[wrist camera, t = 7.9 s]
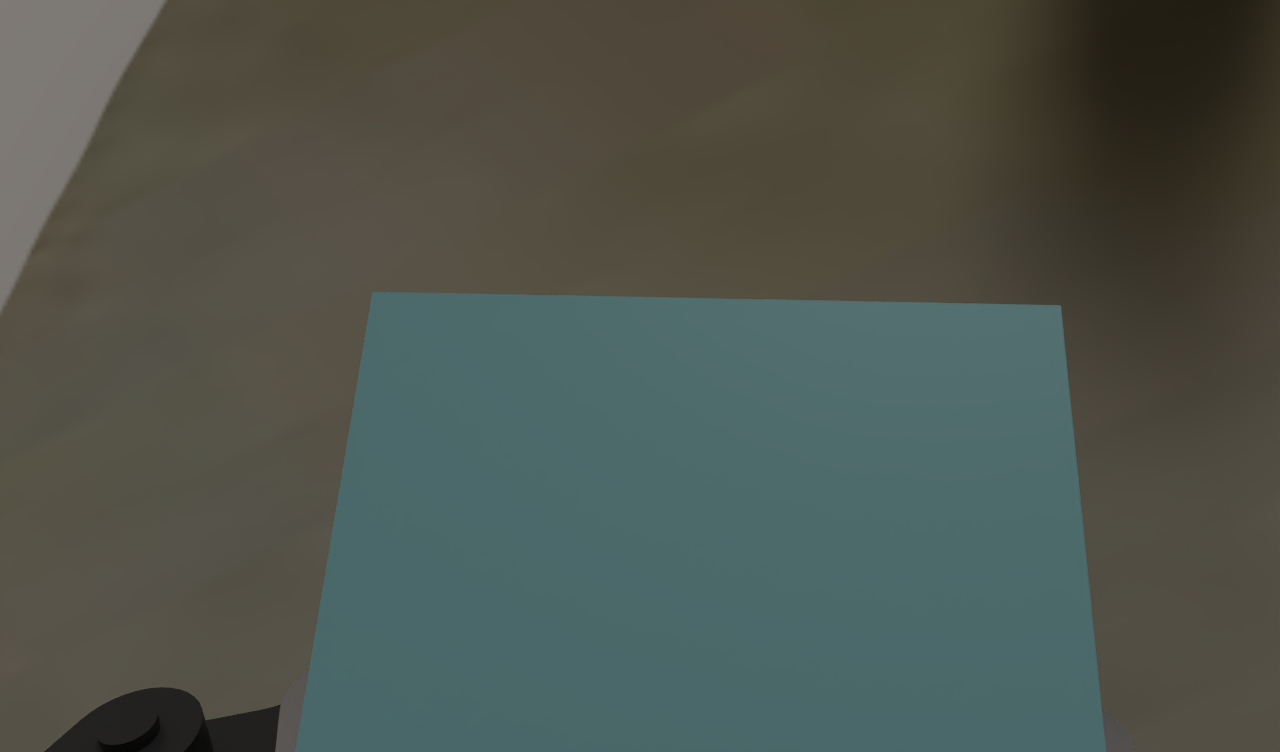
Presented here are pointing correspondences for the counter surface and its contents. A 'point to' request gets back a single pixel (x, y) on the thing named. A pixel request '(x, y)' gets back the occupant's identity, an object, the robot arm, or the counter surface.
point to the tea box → (706, 531)
